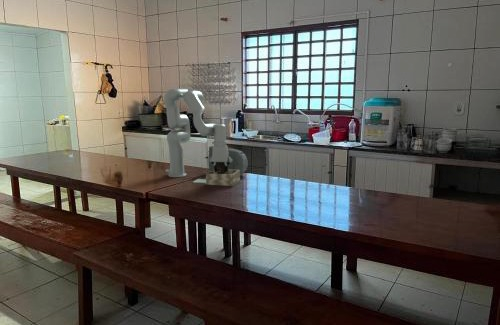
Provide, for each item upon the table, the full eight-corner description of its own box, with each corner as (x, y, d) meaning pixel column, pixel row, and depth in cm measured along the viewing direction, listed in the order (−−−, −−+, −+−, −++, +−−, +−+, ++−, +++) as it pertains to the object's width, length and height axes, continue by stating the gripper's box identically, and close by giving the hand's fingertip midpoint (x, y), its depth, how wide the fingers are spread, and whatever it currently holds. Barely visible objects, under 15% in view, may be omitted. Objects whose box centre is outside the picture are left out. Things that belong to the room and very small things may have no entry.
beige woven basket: (206, 184, 227) (205, 173, 226) (214, 179, 241) (213, 168, 240) (233, 185, 223) (233, 174, 221) (240, 180, 237) (239, 169, 236)
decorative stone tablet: (207, 145, 254) (245, 152, 241) (212, 144, 260) (249, 150, 246) (206, 172, 259) (243, 180, 245) (211, 170, 264) (247, 177, 251)
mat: (192, 182, 232) (192, 182, 232) (197, 179, 241) (197, 178, 241) (205, 183, 230) (205, 182, 230) (210, 179, 239) (210, 179, 239)
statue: (214, 181, 234) (213, 151, 230) (224, 180, 237) (223, 150, 233) (217, 184, 228) (216, 152, 224) (228, 182, 230) (227, 151, 227)
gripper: (205, 144, 226) (206, 172, 229) (231, 145, 222) (232, 173, 225) (209, 142, 233) (210, 170, 236) (235, 143, 229) (235, 171, 232)
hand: (221, 171), depth 231 cm, fingers closed on statue, 6 cm apart
